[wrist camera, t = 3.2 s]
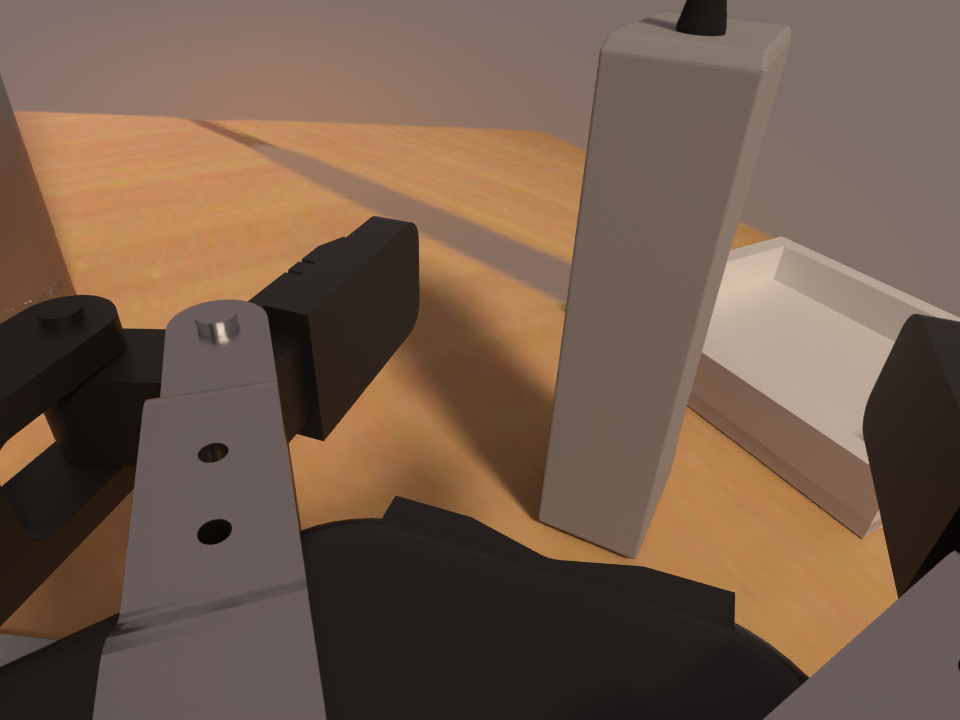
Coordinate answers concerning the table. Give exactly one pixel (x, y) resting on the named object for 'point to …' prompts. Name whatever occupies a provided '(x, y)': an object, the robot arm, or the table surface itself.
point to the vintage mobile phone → (651, 255)
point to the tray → (802, 369)
